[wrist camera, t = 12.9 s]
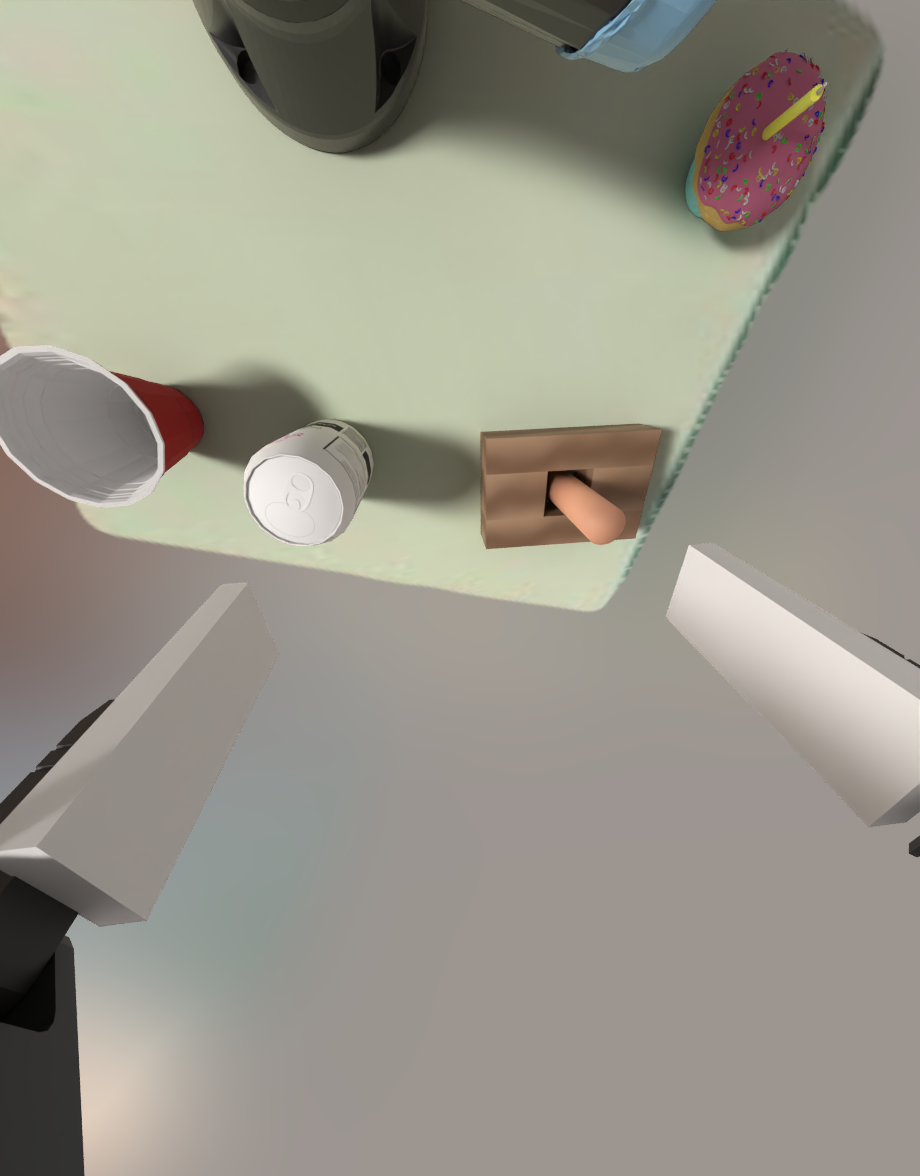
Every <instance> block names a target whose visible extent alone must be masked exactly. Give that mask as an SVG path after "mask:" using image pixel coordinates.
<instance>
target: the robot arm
mask: <svg viewBox="0 0 920 1176" xmlns="http://www.w3.org/2000/svg"><path fill="white" fill-rule="evenodd" d="M461 1H463V2H465V3H467V4H470V5H472V6H474V7H476V8H478V9H480V10H482V11H484V12H486V13H489V14H491V15H493V16H495V17H497V18H499V19H501V20H503V21H505V22H507V23H510V24H512V25H514V26H516V27H518V28H520V29H522V30H524V31H526V32H529V33H531V34H533V35H535V36H537V37H539V38H541V39H543V40H545V41H547V42H550V43H552V44H554V45H555V46H556V50H557V53H558V54H559V55H561V56H563V57H564V58H566V59H569V60H576V59H581V58H586V59H589V60H592V61H594V62H597V63H599V64H602V65H605V66H607V67H610V68H612V69H615V70H618V71H621V72H627V73H628V72H637V71H640V70H642V69H643V68H645V67H646V66H648V65H651V64H652V63H654V62H657V61H660V60H661V59H662V58H664V57H665V56H666V55H668V54H669V53H670V52H671V51H672V50H673V49H674V48H675V47H676V46H677V45H679V44H680V43H681V42H682V41H683V40H684V39H685V38H686V37H687V36H688V34H689V33H690V32H691V31H692V30H693V29H694V28H695V26H696V25H697V24H698V23H699V22H700V21H701V19H702V18H703V17H704V16H705V15H706V13H707V12H708V11H709V10H710V8H711V7H712V6H713V5H714V3H715V2H716V1H717V0H461ZM193 2H194V5H195V7H196V9H197V12H198V14H199V16H200V18H201V20H202V23H203V25H204V27H205V29H206V31H207V33H208V35H209V37H210V39H211V41H212V42H213V44H214V46H215V48H216V49H217V51H218V53H219V55H220V56H221V58H222V59H223V61H224V62H225V64H226V66H227V67H228V69H229V70H230V72H231V73H232V75H233V76H234V78H235V80H236V81H237V83H238V84H239V86H240V87H241V88H242V90H243V91H244V93H245V94H246V95H247V97H248V98H249V99H250V100H251V102H252V103H253V104H254V105H255V106H256V108H257V109H258V110H259V111H260V112H261V113H262V114H263V115H264V116H265V117H266V118H267V119H268V120H269V121H270V122H271V123H272V124H273V125H274V126H276V127H277V128H278V129H279V130H281V131H282V132H283V133H285V134H286V135H288V136H289V137H291V138H292V139H294V140H296V141H297V142H299V143H301V144H303V145H306V146H308V147H311V148H313V149H317V150H321V151H326V152H348V151H353V150H356V149H359V148H362V147H364V146H366V145H368V144H370V143H372V142H373V141H375V140H376V139H378V138H379V137H380V136H381V135H382V134H384V133H385V132H386V131H387V130H388V129H389V127H390V126H391V125H392V124H393V123H394V121H395V120H396V119H397V117H398V116H399V114H400V113H401V111H402V110H403V108H404V106H405V104H406V103H407V100H408V98H409V96H410V94H411V92H412V89H413V87H414V84H415V81H416V78H417V75H418V72H419V68H420V64H421V60H422V55H423V50H424V44H425V38H426V28H427V15H428V0H193ZM666 618H667V619H668V620H669V621H670V622H671V623H672V624H673V625H674V626H675V627H676V628H677V629H678V630H679V631H680V633H681V634H682V635H683V636H684V637H685V638H686V639H687V640H688V641H689V642H690V643H691V644H692V645H693V646H694V647H695V648H696V649H697V650H698V651H699V652H700V653H701V654H702V655H703V656H704V657H705V658H706V659H707V660H708V662H709V663H710V664H711V665H712V666H713V667H714V668H715V669H716V670H717V671H718V672H719V673H720V674H721V675H722V676H723V677H724V678H725V679H726V680H727V681H728V682H729V683H730V684H731V685H732V686H733V687H734V688H735V689H736V691H738V693H739V694H741V696H742V697H743V698H744V699H745V700H746V701H747V702H748V703H749V704H750V705H751V706H752V707H753V708H754V709H755V710H756V711H757V712H758V713H759V714H760V715H761V716H762V717H763V718H764V719H765V720H766V721H767V722H768V724H769V725H770V726H771V727H772V728H773V729H774V730H775V731H776V732H777V733H778V734H779V735H780V736H781V737H782V738H783V739H784V740H785V741H786V742H787V743H788V744H789V745H790V746H791V747H792V748H793V749H794V751H795V752H797V754H798V755H799V756H800V757H801V758H802V759H803V760H804V761H806V763H807V764H808V765H809V766H810V767H811V768H812V769H813V770H814V771H815V772H816V773H817V774H818V775H819V776H820V777H821V778H822V779H823V780H824V781H825V783H826V784H827V785H828V786H829V787H830V788H831V789H832V790H833V791H834V792H835V793H836V794H837V795H838V796H839V797H840V798H841V799H842V800H843V801H844V802H845V803H846V804H847V805H848V806H849V807H850V808H851V809H852V810H853V811H854V812H855V813H856V815H857V816H858V817H859V818H860V819H861V820H862V821H863V822H864V823H865V824H866V825H867V826H868V827H873V826H880V825H888V824H896V823H904V822H907V821H908V820H910V819H911V818H912V817H913V816H915V815H916V814H917V813H918V812H920V665H918V664H917V663H915V662H913V661H912V660H910V659H909V660H906V659H905V658H904V655H902V654H900V653H898V652H897V651H895V650H894V649H892V648H890V647H889V646H887V645H885V644H883V643H882V642H880V641H879V640H877V639H875V638H872V637H870V636H868V635H865V634H863V633H861V632H859V631H857V630H856V629H854V628H852V627H851V626H849V625H847V624H846V623H844V622H842V621H841V620H839V619H837V618H836V617H834V616H833V615H831V614H829V613H828V612H826V611H824V610H823V609H821V608H819V607H818V606H816V605H814V604H813V603H811V602H809V601H808V600H806V599H805V598H803V597H801V596H800V595H798V594H796V593H795V592H793V591H791V590H790V589H788V588H787V587H785V586H783V585H782V584H780V583H778V582H777V581H775V580H773V579H772V578H770V577H769V576H767V575H765V574H764V573H762V572H760V571H759V570H757V569H755V568H754V567H752V566H750V565H749V564H747V563H746V562H744V561H742V560H740V559H739V558H737V557H736V556H734V555H732V554H731V553H729V552H727V551H726V550H724V549H722V548H721V547H719V546H717V545H716V544H714V543H706V544H694V545H689V547H688V550H687V553H686V556H685V559H684V562H683V565H682V568H681V571H680V574H679V578H678V581H677V584H676V587H675V590H674V593H673V596H672V599H671V602H670V605H669V608H668V611H667V614H666ZM278 655H279V652H278V649H277V647H276V645H275V642H274V640H273V638H272V635H271V633H270V631H269V629H268V626H267V624H266V621H265V619H264V617H263V614H262V612H261V610H260V607H259V605H258V603H257V600H256V598H255V596H254V593H253V591H252V589H251V586H250V584H249V582H244V583H232V584H221V585H220V586H219V587H218V588H217V590H216V591H215V592H214V593H213V594H212V595H211V596H210V597H209V598H208V599H207V601H205V603H204V604H203V605H202V606H201V607H200V608H199V609H198V610H197V611H196V612H195V613H194V615H193V616H192V617H191V618H190V619H189V620H188V621H187V622H186V623H185V625H183V627H182V628H181V629H180V630H179V631H178V632H177V633H176V634H175V635H174V636H173V638H171V640H170V641H169V642H168V643H167V644H166V645H165V646H164V647H163V648H162V649H161V650H160V652H159V653H158V654H157V655H156V656H155V657H154V658H153V659H152V660H151V661H150V662H149V663H148V665H147V666H146V667H145V668H144V669H143V670H142V671H141V672H140V673H139V674H138V675H137V677H136V678H135V679H134V680H133V681H132V682H131V683H130V684H129V685H128V686H127V687H126V688H125V690H124V691H123V692H122V693H121V694H120V695H119V696H118V697H117V698H116V699H114V700H109V701H107V702H106V703H105V704H103V705H102V706H101V707H99V708H98V709H96V710H95V711H93V712H92V713H91V714H89V715H88V716H87V717H85V718H84V719H82V720H81V721H80V722H79V723H78V724H77V725H76V726H75V727H74V728H73V729H72V730H71V731H70V732H69V733H68V734H67V735H66V736H65V737H64V738H63V739H62V740H61V741H60V743H58V745H57V749H56V750H54V751H51V752H50V753H49V754H48V755H47V756H46V757H45V758H44V759H43V760H42V761H41V762H40V763H39V764H38V765H37V766H36V771H35V772H31V773H30V774H29V775H28V776H27V777H26V778H25V779H24V780H23V781H22V782H21V783H20V784H19V785H18V786H17V787H16V788H15V789H14V790H13V791H12V792H11V794H9V795H8V796H7V797H6V798H5V800H4V801H3V802H2V803H1V804H0V1176H84V1159H83V1136H82V1116H81V1096H80V1095H81V1094H80V1074H79V1052H78V1031H77V1009H76V988H75V967H74V948H73V946H72V943H71V941H70V939H69V937H67V936H65V934H66V933H67V931H68V929H69V927H70V926H71V925H72V923H73V921H74V920H75V918H76V917H77V915H78V914H79V915H80V916H82V917H84V918H86V919H87V920H89V921H91V922H93V923H94V924H96V925H98V926H100V927H101V926H108V925H116V924H124V923H132V922H139V921H146V920H147V919H148V917H149V915H150V913H151V911H152V909H153V907H154V905H155V903H156V901H157V899H158V897H159V894H160V893H161V891H162V889H163V887H164V885H165V883H166V881H167V879H168V877H169V875H170V873H171V871H172V869H173V867H174V865H175V863H176V861H177V859H178V857H179V855H180V853H181V851H182V849H183V847H184V845H185V843H186V840H187V838H188V837H189V835H190V832H191V831H192V829H193V826H194V824H195V822H196V820H197V818H198V816H199V814H200V812H201V810H202V808H203V806H204V804H205V802H206V800H207V798H208V796H209V794H210V792H211V790H212V788H213V786H214V784H215V782H216V780H217V778H218V776H219V774H220V772H221V770H222V768H223V766H224V764H225V762H226V760H227V758H228V756H229V754H230V752H231V750H232V748H233V746H234V744H235V742H236V740H237V738H238V736H239V734H240V732H241V730H242V728H243V726H244V724H245V722H246V720H247V718H248V716H249V714H250V712H251V710H252V708H253V706H254V704H255V702H256V700H257V698H258V696H259V694H260V692H261V690H262V688H263V685H264V684H265V682H266V680H267V677H268V676H269V674H270V672H271V669H272V668H273V666H274V664H275V662H276V659H277V657H278ZM909 854H911V855H913V856H915V857H919V856H920V836H919V837H917V838H916V839H915V840H913V841H912V842H911V843H909Z"/></svg>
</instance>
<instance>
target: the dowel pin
mask: <svg viewBox="0 0 920 1176" xmlns="http://www.w3.org/2000/svg"><path fill="white" fill-rule="evenodd" d="M546 496H547V497H548V498H549V499H550V500H551V501H552V502H553V503H554V504H555V505H556V506H557V507H558V508H559V509H560V510H561V511H562V512H563V513H564V514H565V515H566V517H567V518H568V519H569V520H570V521H571V522H572V523H573V524H574V525H575V526H576V527H577V528H578V529H579V530H580V531H581V532H582V533H583V534H584V535H585V536H586V537H587V538H588V539H589V540H590V541H591V542H592V543H594V544H598V545H603V544H608V543H610V542H612V541H614V540H615V539H616V538H618V537H619V536H620V534H621V533H622V531H623V530H624V527H625V523H626V519H625V515H624V513H623V512H622V511H621V510H620V509H619V508H617V507H616V506H615V505H613V504H612V503H610V502H609V501H608V500H606V499H605V498H603V497H602V496H601V495H599V494H598V493H597V492H595V491H594V490H592V489H591V488H590V487H588V486H587V485H585V484H584V483H583V482H581V481H580V480H578V479H577V478H576V477H574V476H573V475H571V474H570V473H569V472H567V471H566V470H563V471H548V475H547V486H546Z"/></svg>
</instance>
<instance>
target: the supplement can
mask: <svg viewBox="0 0 920 1176" xmlns="http://www.w3.org/2000/svg"><path fill="white" fill-rule="evenodd" d="M373 467H374V463H373V457H372V451H371V449H370V448H369V446H368V444H367V442H366V440H365V438H364V437H363V436H362V435H361V434H360V433H359V432H358V431H357V430H356V429H355V428H354V427H352V426H350V425H348V424H346V423H344V422H342V421H338V420H331V419H323V420H319V421H315V422H312V423H310V424H308V425H306V426H304V427H302V428H300V429H298V430H296V431H294V432H292V433H290V434H288V435H286V436H284V437H282V438H280V439H278V440H276V441H274V442H272V443H270V444H268V445H266V446H264V447H263V448H262V449H261V450H259V451H258V452H257V453H256V454H254V455H253V456H252V457H251V459H250V461H249V463H248V466H247V468H246V470H245V472H244V499H245V502H246V505H247V508H248V510H249V513H250V515H251V516H252V518H253V519H254V520H255V521H256V523H257V524H258V525H259V527H260V528H261V529H263V530H264V531H265V532H267V533H268V534H269V535H271V536H272V537H273V538H275V539H277V540H280V541H282V542H285V543H288V544H290V545H299V546H310V545H318V544H322V543H326V542H330V541H332V540H333V539H335V538H336V537H338V536H339V535H341V534H342V533H344V531H345V530H346V528H347V527H348V525H349V524H350V522H351V520H352V519H353V517H354V515H355V512H356V510H357V508H358V506H359V504H360V502H361V499H362V497H363V495H364V493H365V491H366V489H367V486H368V484H369V482H370V480H371V478H372V472H373Z"/></svg>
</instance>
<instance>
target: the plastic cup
mask: <svg viewBox="0 0 920 1176" xmlns="http://www.w3.org/2000/svg"><path fill="white" fill-rule="evenodd" d="M202 435H203V420H202V418H201V415H200V413H199V410H198V409H197V408H196V406H195V405H194V404H193V403H192V401H191V400H190V399H189V398H188V397H186V396H185V395H183V394H182V393H181V392H179V391H178V390H175V389H174V388H171V387H168V386H165V385H162V384H158V383H153V382H148V381H145V380H142V379H139V378H135V377H131V376H127V375H123V374H119V373H114V372H110V371H108V370H107V369H105V368H104V367H102V366H101V365H99V364H98V363H96V362H95V361H94V360H92V359H90V358H87V357H84V356H81V355H78V354H75V353H72V352H69V351H66V350H63V349H60V348H57V347H54V346H51V345H42V346H19V347H14V348H12V349H11V350H9V351H8V352H6V353H5V354H3V355H1V356H0V445H1V446H2V448H3V449H4V451H5V453H6V454H7V455H8V456H9V457H10V458H11V459H12V460H13V461H14V462H15V463H16V464H17V465H18V466H20V467H21V468H22V469H23V470H24V471H25V472H26V473H27V474H28V475H29V476H30V477H32V478H33V479H34V480H35V481H36V482H38V483H40V484H41V485H43V486H45V487H47V488H49V489H51V490H52V491H54V492H56V493H58V494H60V495H61V496H63V497H65V498H67V499H69V500H72V501H76V502H80V503H84V504H89V505H93V506H97V507H101V508H104V507H117V506H129V505H132V504H133V503H135V502H137V501H139V500H140V499H142V498H144V497H146V496H147V495H149V494H151V493H152V492H153V491H154V489H155V487H156V486H157V484H158V482H159V480H160V478H161V477H162V476H163V475H164V473H165V472H166V471H167V470H169V469H170V468H171V467H172V466H174V465H175V464H176V463H177V462H178V461H180V460H181V459H182V458H183V457H185V456H186V455H187V454H188V452H189V451H190V450H191V449H193V448H194V447H195V446H197V445H198V443H199V441H200V439H201V437H202Z"/></svg>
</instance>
